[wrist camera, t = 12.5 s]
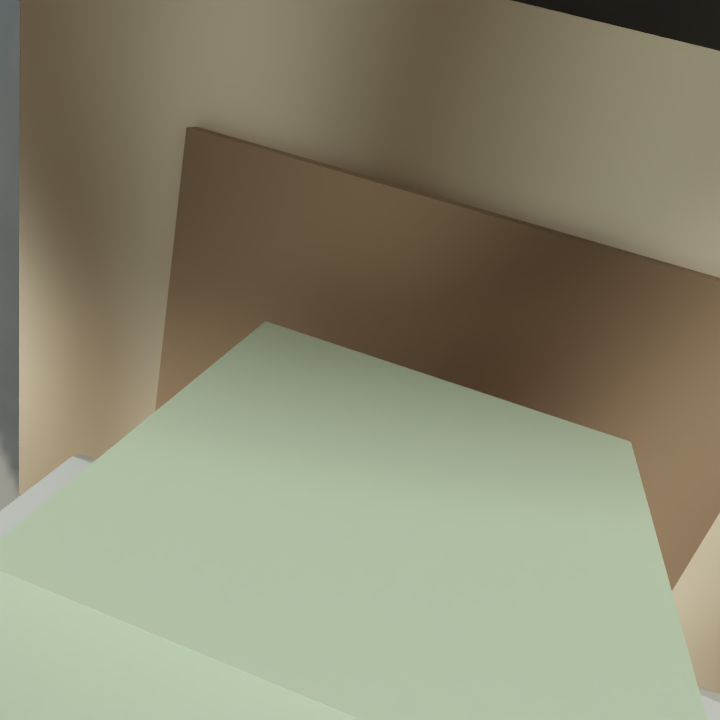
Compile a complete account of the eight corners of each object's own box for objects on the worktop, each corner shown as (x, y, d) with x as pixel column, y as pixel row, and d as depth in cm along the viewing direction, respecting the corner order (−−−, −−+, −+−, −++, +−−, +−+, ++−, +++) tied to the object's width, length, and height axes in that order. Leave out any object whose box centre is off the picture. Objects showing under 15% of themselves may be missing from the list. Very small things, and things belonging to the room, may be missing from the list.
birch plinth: (964, 147, 11) (1280, 183, 6) (635, 674, 17) (674, 895, 12) (195, -45, 13) (3, -127, 8) (140, 487, 19) (9, 615, 14)
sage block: (630, 441, 8) (750, 880, 4) (502, 699, 10) (473, 1177, 6) (265, 321, 9) (-24, 560, 4) (216, 586, 11) (-12, 932, 6)
